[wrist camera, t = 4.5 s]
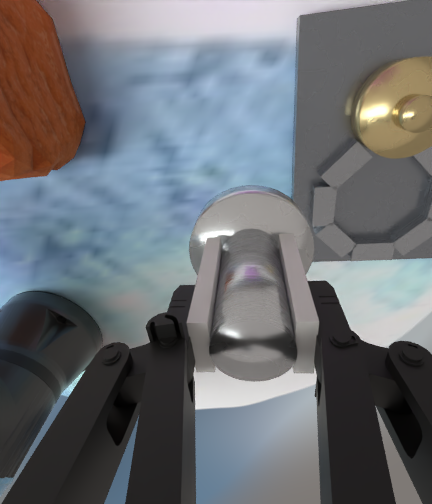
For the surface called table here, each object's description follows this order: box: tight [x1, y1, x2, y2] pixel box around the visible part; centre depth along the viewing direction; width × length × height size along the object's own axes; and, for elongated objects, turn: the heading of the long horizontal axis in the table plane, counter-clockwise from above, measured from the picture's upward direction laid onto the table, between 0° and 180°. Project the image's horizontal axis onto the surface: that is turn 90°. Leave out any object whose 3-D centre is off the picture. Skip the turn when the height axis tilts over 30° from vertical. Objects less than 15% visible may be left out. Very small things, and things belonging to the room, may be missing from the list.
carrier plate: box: [291, 0, 432, 262], centre depth 27 cm, size 16×22×3 cm
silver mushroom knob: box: [189, 185, 314, 381], centre depth 14 cm, size 7×7×8 cm
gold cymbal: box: [351, 56, 432, 159], centre depth 23 cm, size 7×7×4 cm
